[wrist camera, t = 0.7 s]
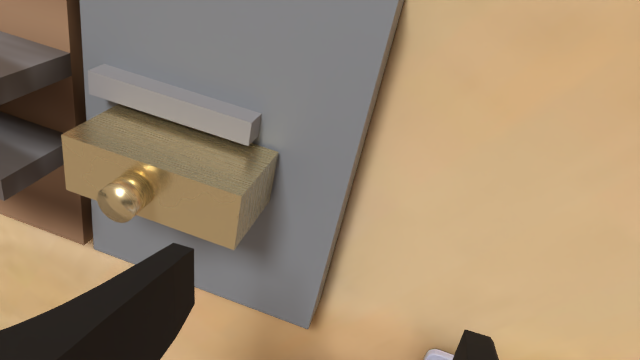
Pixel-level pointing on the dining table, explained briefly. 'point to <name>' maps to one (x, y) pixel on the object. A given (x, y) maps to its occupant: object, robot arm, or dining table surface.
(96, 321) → the robot arm
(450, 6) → the dining table surface
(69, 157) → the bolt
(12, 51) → the panel
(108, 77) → the door leaf
